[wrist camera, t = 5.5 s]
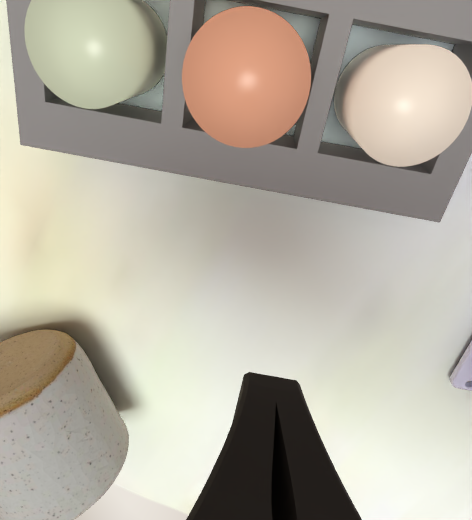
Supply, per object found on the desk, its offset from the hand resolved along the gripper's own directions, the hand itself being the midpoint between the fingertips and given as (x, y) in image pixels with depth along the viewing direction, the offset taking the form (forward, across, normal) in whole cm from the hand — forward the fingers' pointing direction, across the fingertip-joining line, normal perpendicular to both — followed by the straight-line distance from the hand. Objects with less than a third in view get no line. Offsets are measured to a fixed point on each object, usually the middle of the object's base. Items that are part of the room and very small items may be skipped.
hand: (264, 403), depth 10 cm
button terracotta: (+9, +2, -7) cm, 11 cm away
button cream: (+10, -3, -7) cm, 13 cm away
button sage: (+10, +7, -7) cm, 14 cm away
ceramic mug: (+11, +11, +13) cm, 20 cm away
